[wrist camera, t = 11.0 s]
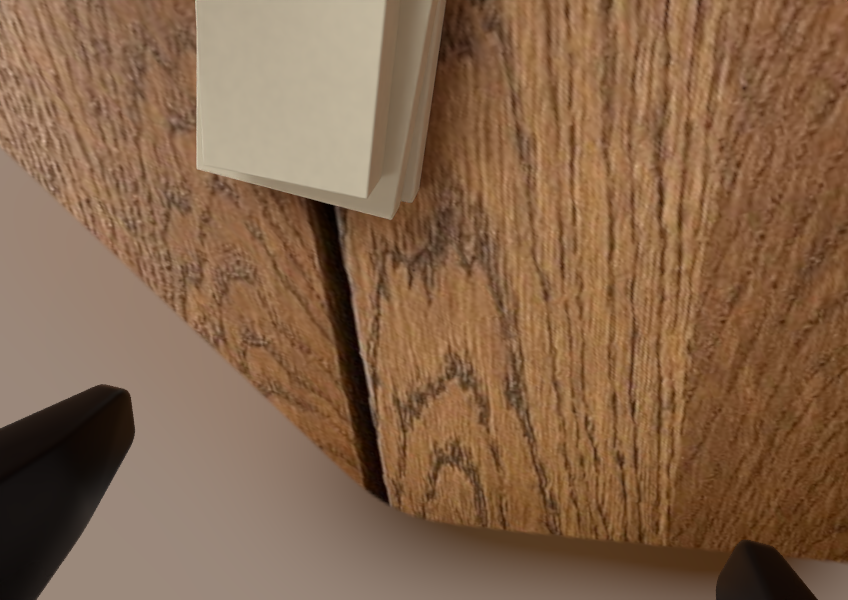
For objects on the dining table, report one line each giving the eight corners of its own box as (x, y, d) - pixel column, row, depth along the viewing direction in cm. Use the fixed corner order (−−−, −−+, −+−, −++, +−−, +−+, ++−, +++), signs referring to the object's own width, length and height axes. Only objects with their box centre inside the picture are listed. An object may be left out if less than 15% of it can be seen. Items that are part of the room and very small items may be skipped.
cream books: (420, 196, 20) (406, 224, 19) (226, 155, 21) (195, 179, 19) (465, -117, 16) (452, -118, 14) (218, -159, 16) (177, -163, 15)
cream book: (382, 178, 18) (367, 200, 17) (226, 146, 18) (201, 165, 17) (409, -73, 15) (393, -69, 14) (220, -106, 15) (188, -105, 14)
